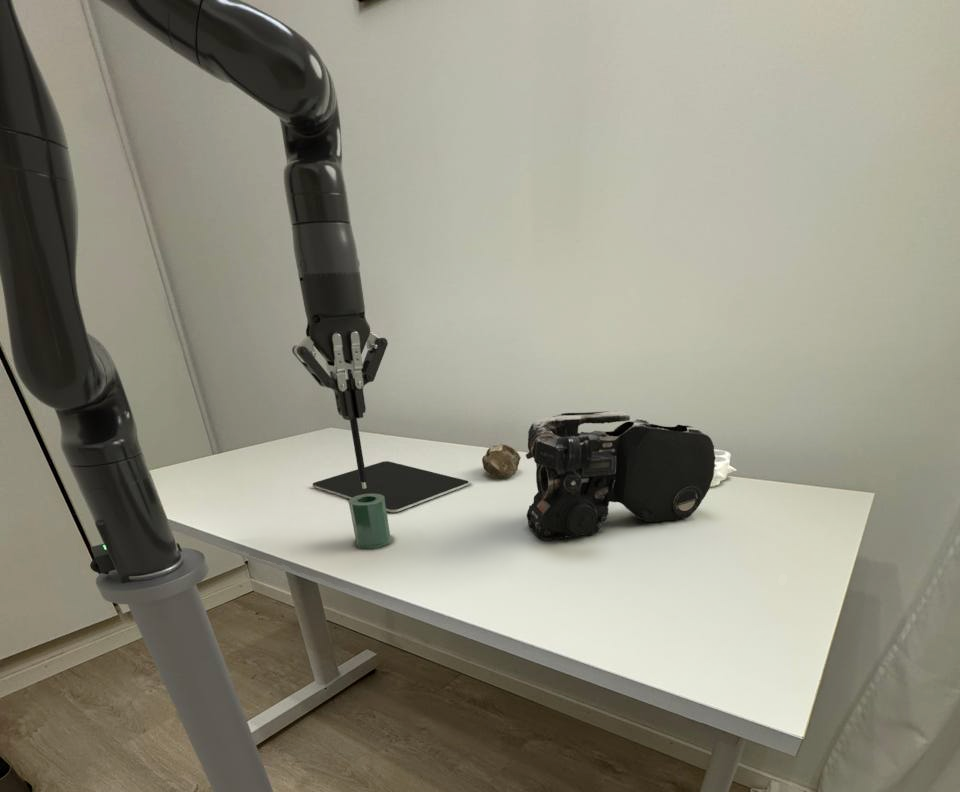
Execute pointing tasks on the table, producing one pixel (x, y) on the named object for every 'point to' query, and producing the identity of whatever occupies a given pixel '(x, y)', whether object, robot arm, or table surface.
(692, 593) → the table surface
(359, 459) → the stylus
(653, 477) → the movie camera
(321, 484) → the tablet
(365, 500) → the holder
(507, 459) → the brown rock
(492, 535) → the table surface
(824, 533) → the table surface
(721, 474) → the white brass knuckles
